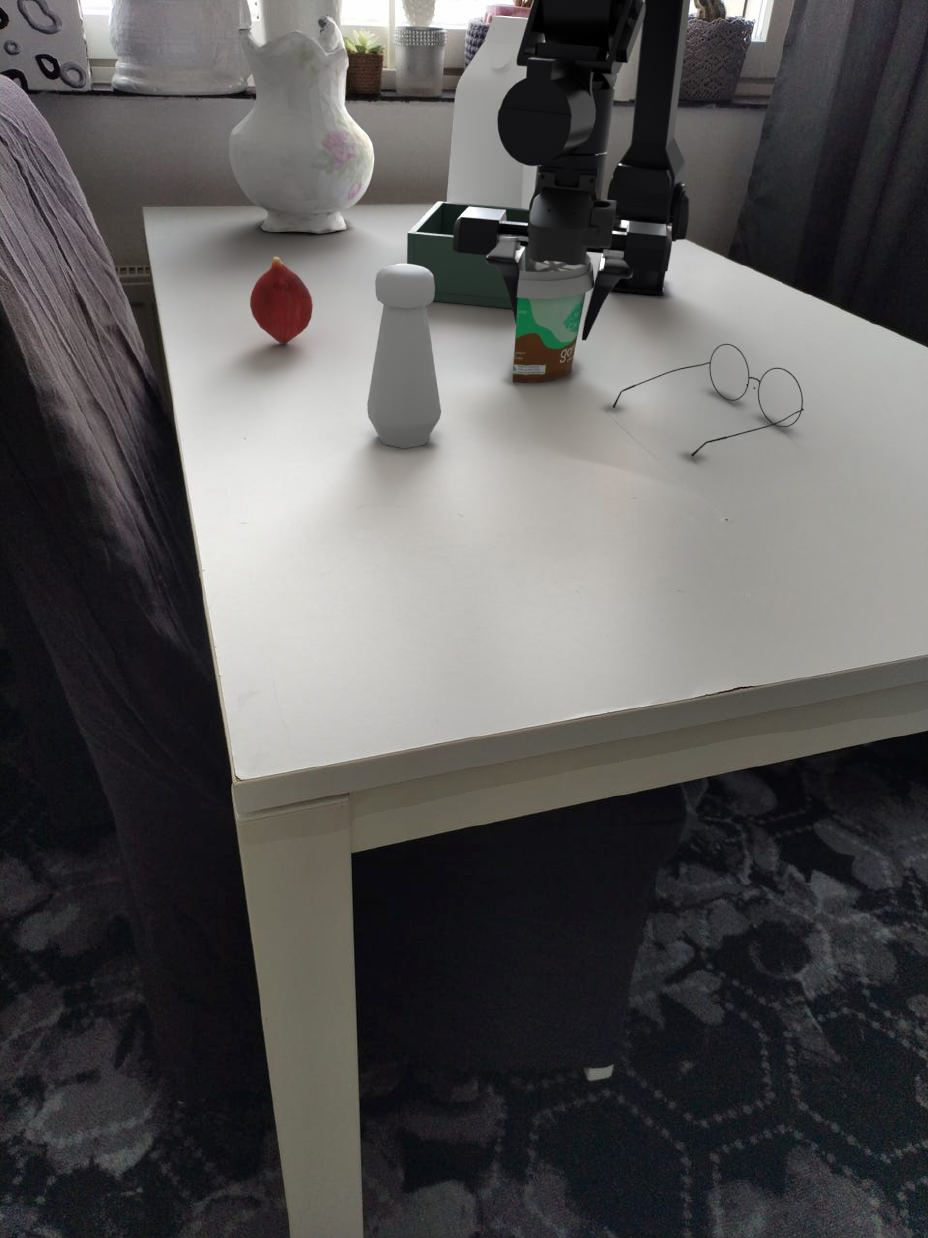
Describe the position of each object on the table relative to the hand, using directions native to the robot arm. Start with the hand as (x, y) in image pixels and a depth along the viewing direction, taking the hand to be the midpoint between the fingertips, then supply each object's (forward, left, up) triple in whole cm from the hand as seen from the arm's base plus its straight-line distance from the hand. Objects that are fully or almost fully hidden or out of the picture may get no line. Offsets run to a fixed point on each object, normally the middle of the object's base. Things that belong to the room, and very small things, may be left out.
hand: (551, 335), depth 83 cm
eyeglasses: (-14, +9, -3) cm, 17 cm away
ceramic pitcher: (+39, -48, -3) cm, 62 cm away
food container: (0, 0, -3) cm, 3 cm away
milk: (+11, -48, -3) cm, 49 cm away
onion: (+26, +1, -3) cm, 26 cm away
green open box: (+11, -26, -3) cm, 28 cm away
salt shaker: (+10, +19, -3) cm, 22 cm away
